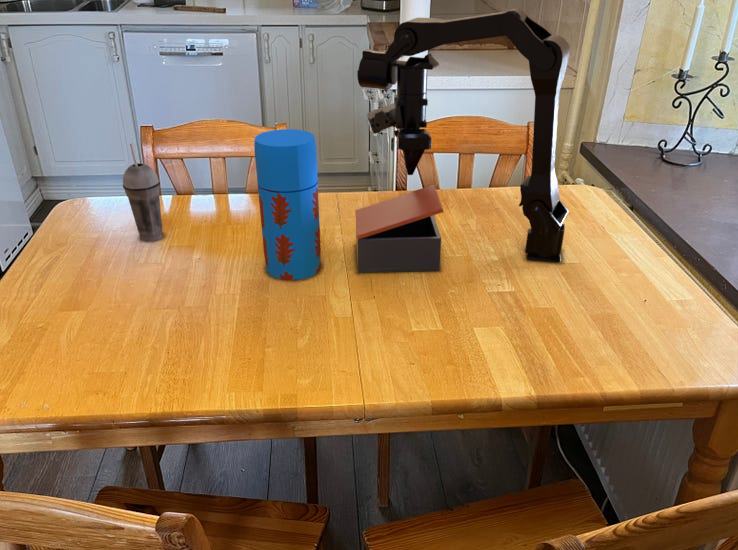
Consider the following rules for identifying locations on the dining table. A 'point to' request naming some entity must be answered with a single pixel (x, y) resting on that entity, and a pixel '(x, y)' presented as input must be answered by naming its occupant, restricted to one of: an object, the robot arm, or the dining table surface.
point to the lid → (397, 211)
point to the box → (401, 248)
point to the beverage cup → (144, 199)
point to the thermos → (289, 202)
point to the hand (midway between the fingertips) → (409, 171)
